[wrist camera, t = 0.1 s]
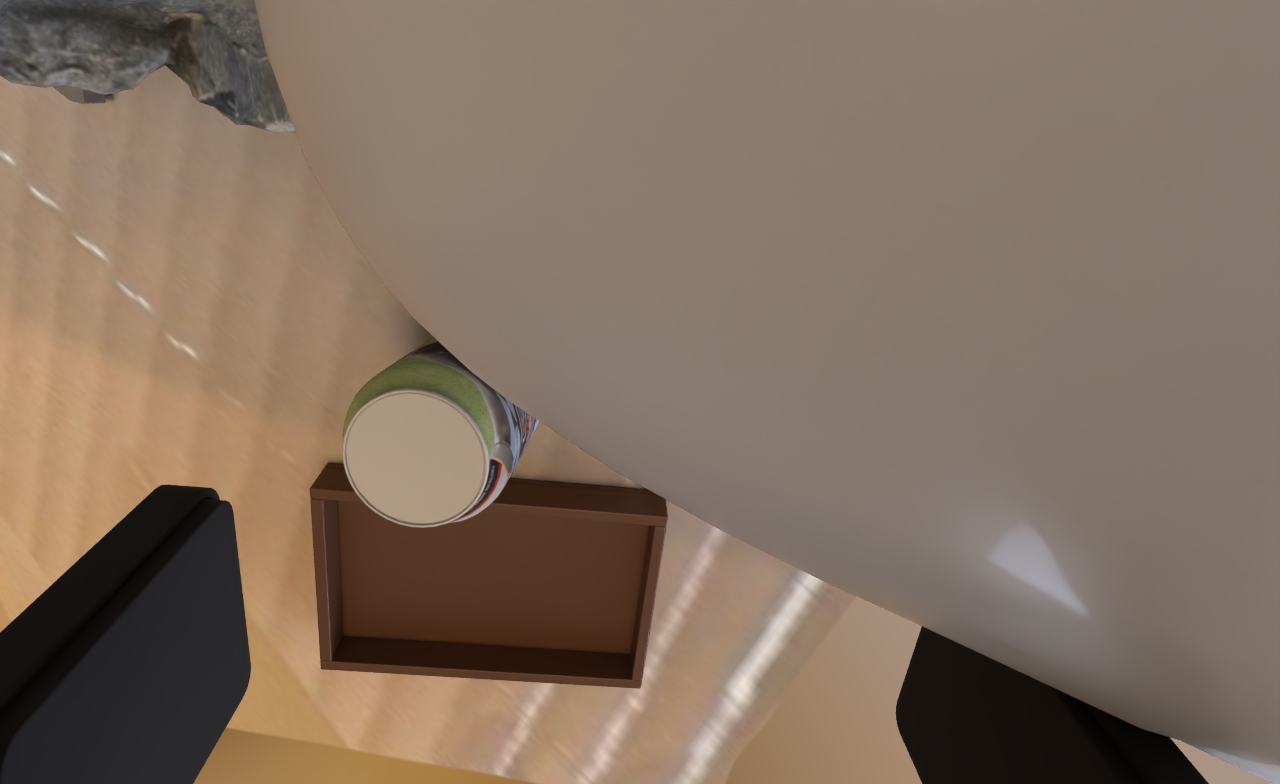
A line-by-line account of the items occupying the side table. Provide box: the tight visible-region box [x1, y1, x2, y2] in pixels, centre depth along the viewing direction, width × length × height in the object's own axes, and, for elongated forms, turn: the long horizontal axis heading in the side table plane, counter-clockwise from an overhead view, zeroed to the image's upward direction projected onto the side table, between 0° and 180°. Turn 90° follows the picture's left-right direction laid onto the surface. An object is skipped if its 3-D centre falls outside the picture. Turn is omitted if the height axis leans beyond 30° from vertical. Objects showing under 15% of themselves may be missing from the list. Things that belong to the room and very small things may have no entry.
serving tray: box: [310, 463, 668, 688], centre depth 39 cm, size 11×17×2 cm, turn 83°
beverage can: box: [342, 338, 540, 528], centre depth 30 cm, size 6×7×12 cm
